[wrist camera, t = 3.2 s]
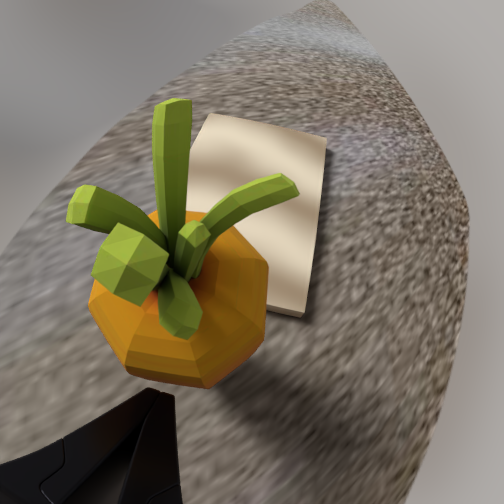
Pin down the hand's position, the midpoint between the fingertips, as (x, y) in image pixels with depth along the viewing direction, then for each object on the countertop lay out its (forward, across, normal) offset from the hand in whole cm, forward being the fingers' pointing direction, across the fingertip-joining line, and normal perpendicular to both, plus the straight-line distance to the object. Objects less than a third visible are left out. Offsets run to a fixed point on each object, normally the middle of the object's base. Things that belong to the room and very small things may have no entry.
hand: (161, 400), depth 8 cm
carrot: (+8, 0, +4) cm, 9 cm away
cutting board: (+16, 0, -4) cm, 16 cm away
